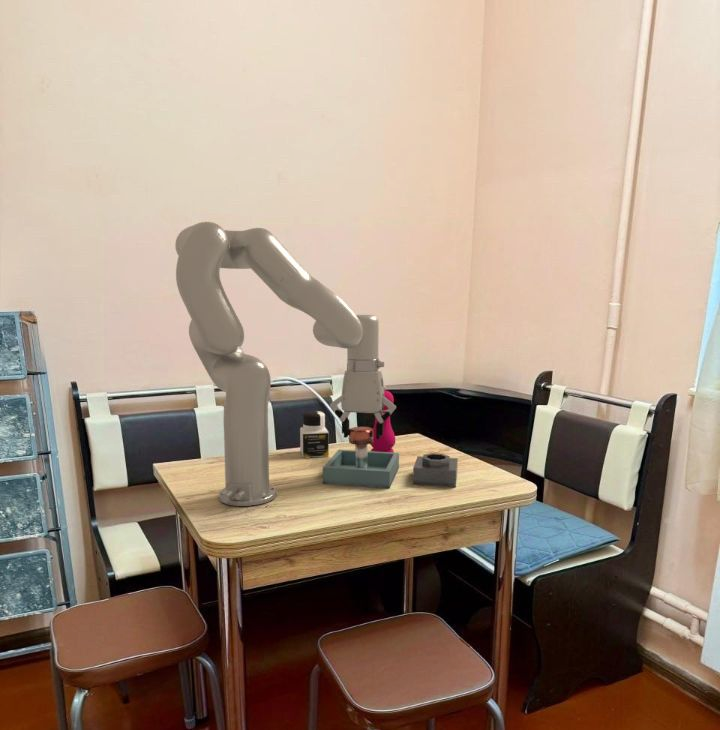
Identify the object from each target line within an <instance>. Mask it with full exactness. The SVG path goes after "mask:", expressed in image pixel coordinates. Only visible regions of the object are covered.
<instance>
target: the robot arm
mask: <svg viewBox="0 0 720 730" xmlns="http://www.w3.org/2000/svg"><path fill="white" fill-rule="evenodd" d="M174 248H175V251H176V254H177V256H178V257H177V262H176V269H175V280H176V286H177V290H178V292H179V295H180V298H181V300H182V302H183V304H184V306H185V308H186V311H187V313H188V315H189V317H190V319H191V320H190V323H189V326H188V335H189V339H190V342H191V345H192V346H193V348H194V351H195V352H196V354H197V356H198V358H199V360H200V361H201V364H202V365H203V366H204V369H205V371H206V373H207V375H208V376H209V378H210V380H211V381H212V383H213V384H214V386H216V388H218V389H219V390H221V391H222V392H224V393H225V399H224V400H225V401H224V406H223V441H224V442H223V443H224V477H225V479H224V480H225V486H224V487H223V488H222V489H220V490H219V492H218V500H219V501H220V502H221V503H223V504H225V505H229V506H232V507H233V506H234V507H250V506H251V507H252V505H253V506H257V505H263V504H265V503H268V502H270V501H272V500H273V499H275V498H276V496H277V488H276V487H275V486H273V485H272V484H270V468H269V467H270V465H269V464H270V463H269V462H270V460H269V459H270V457H269V453H270V452H269V451H270V450H269V448H270V447H269V400H270V393H271V392H270V391H271V386H272V383H271V381H272V380H271V373H270V370H269V369H268V367H267V364H265V363H264V362H263V361H262V360H261V359H259V358H258V357H255V356H253V355H250V354H246V353H245V352H244V351H243V349H242V346H243V344H244V340H245V332H244V327H243V325H242V323H241V321H240V318H239V316H238V315H237V314H236V312H235V309H234V308H233V305H232V304H231V302H230V300H229V298H228V296H227V294H226V291H225V289H224V286H223V284H222V281H221V275H220V271H221V270H220V269H229V270H231V269H233V270H236V269H237V270H240V269H241V270H246V269H247V270H249V269H251V271H252V272H254V273H255V274H256V275H257V276H258V278H259V279H261V281H262V282H263V283H264V284H265V285H266V286H267V287H268V288H269V289H270V290H271V291H272V292H273V293H274V294H275V295H276V297H278V299H279V300H281V301H282V302H283V303H285V304H286V305H288V306H290V307H292V308H294V309H296V310H299V311H300V312H303V313H304V314H306V315H308V316H310V317H311V318H312V319H313V320H315V321H314V323H313V327H312V334H313V337H314V338H315V340H316V341H317V342H318V343H320V344H322V345H324V346H329V347H333V348H339V349H347V353H346V354H347V359H346V360H347V365H346V367H347V370H345V371H344V373H343V378H342V387H341V388H342V389H341V395H340V396H339V397H337V398H336V399H334V400H333V401H331V403H329V407H330V409H331V410H332V411H333V413H334V414H335V415H336V417H338V418H339V420H340V421H341V434H343V438H345V439H346V438H347V437H348V438H349V429H350V419H349V416H350V414H351V413H357V414H358V413H359V414H360V413H362V414H374V417H375V416H376V418H377V420H378V422H377V424H376V439H380V437H381V435H383V422H384V421H385V420H386V419H387V418H388V417H389V416H390V417H391V415H392V414H393V413H394V411H395V410H396V409H397V405H395V404H394V402H393V403H392V402H391V401H389V400H388V399H387V398H386V397H384V385H385V384H384V378H383V373H382V370H379V369H381V368H385V361H381V360H380V358H379V330H380V329H379V324H380V323H379V319H378V316H375V315H373V314H355V312H354V311H353V310H352V309H351V308H350V307H349V306H348V305H347V304H346V302H345V301H344V300H342V298H340V297H339V296H338V295H337V294H336V293H335V292H333V291H332V290H331V289H329V288H328V287H326V286H325V285H324V284H323V283H321V282H320V281H319V280H317V279H316V278H315V277H313V276H312V275H311V274H310V273H309V272H308V271H306V269H305V268H304V267H303V266H302V264H300V262H298V260H297V259H296V258H295V257H294V256H293V255H292V254H291V253H290V252H289V251H288V249H287V248H286V247H285V246H284V245H283V244H282V243H281V241H280V240H279V239H278V238H277V237H276V236H275V235H274V234H273V233H272V232H271V231H269V230H268V229H266V228H263V227H254V228H250V229H245V230H228V229H227V230H226V229H225V230H224V228H223V227H222V226H221V225H219V223H218V224H217V223H216V222H211V221H203V222H198V223H195V224H193V225H190V226H187V227H186V228H184V229H182V230H181V231H180V232H179V233H178V235H177V236H176V239H175V247H174ZM339 404H341V405H340V406H341V407H340V408H341V409H340V408H339V406H338V405H339ZM384 404H385V405H386V406H387V407H388V408H389V409H388V411H387V412H386V413H385V414H384V415H383V413H382V412H381V410H382V409H383V408H384Z"/></svg>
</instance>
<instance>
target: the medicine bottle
mask: <svg viewBox="0 0 720 730" xmlns="http://www.w3.org/2000/svg"><path fill="white" fill-rule="evenodd" d="M302 417H303V418H302V421H303V422H302V423H303V424H302V425H303V426H302V427H300V428H299V434H300V436H299V438H300V439H299V440H300V444H299V445H300V447H299V448H300V449H299V450H300V451H299V452H300V453H301V455H302V458H303V459H308V458H307V457H313V458H328V457H329V455H330V454H329V453H330V452H329V450H330V449H329V446H330V445H329V444H330V443H329V442H330V440H329V437H330V436H329V435H330V433H329V430H328V429H327V428H326V419H325V418H326V414H325V413H324V412H323V411H321V410H320V411H318V410H310V411H306V412H304V413H303V415H302Z"/></svg>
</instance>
